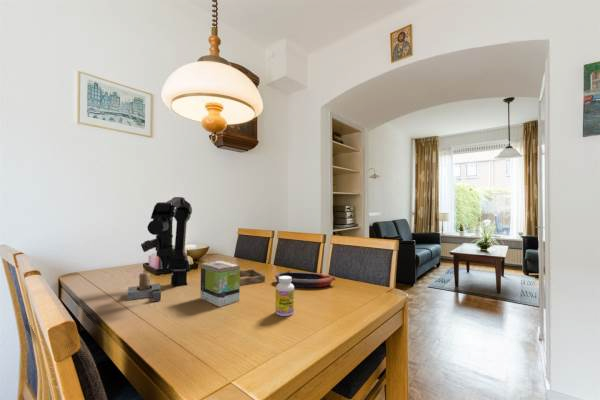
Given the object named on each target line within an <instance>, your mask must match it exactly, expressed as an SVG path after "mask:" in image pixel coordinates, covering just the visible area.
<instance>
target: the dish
mask: <svg viewBox="0 0 600 400" xmlns="http://www.w3.org/2000/svg"><path fill="white" fill-rule="evenodd" d="M280 276H290V277H292V281H291V284H293V285H294V288H309V289H310V288H311V289H314V288H315V287H317V288H324V287H328V286H330V285H331V284H332V283H333V282H334V281H336V279H337V278H336V276H333V275H329V274H324V273H319V272H318V273H316V272H303V271H302V272H301V271H300V272H299V271H290V270H287V271H285V272H278V273H275V275H274V278H275V280H276V281H277V283H279V277H280ZM323 286H324V287H323Z"/></svg>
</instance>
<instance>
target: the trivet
mask: <svg viewBox="0 0 600 400" xmlns="http://www.w3.org/2000/svg"><path fill="white" fill-rule="evenodd" d="M247 275H249V276H251V277H249V276H247ZM246 276H247V277H246ZM241 277H244V278H241ZM264 281H265V282H266V276H265V275H264V274H262V273H261V272H259V271H257V270H255V269H254V268H251V269H243V270H240V286H244V285H245V284H246V285H252V283H253V284H258V282H259V283H264ZM246 285H245V286H246Z"/></svg>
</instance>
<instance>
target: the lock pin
mask: <svg viewBox="0 0 600 400" xmlns="http://www.w3.org/2000/svg"><path fill="white" fill-rule="evenodd" d="M157 301H162V291H159V290H155V291H153V297H152V302H157Z"/></svg>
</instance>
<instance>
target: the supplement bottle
mask: <svg viewBox="0 0 600 400" xmlns="http://www.w3.org/2000/svg"><path fill="white" fill-rule="evenodd" d="M291 281H292V277H290V276H280V277H279V282H278V283H277V284H276V285H275V314H277V316H280V317H289V316H291V315H293V314H294V311H295V287H294V285H293V284H291Z"/></svg>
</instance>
